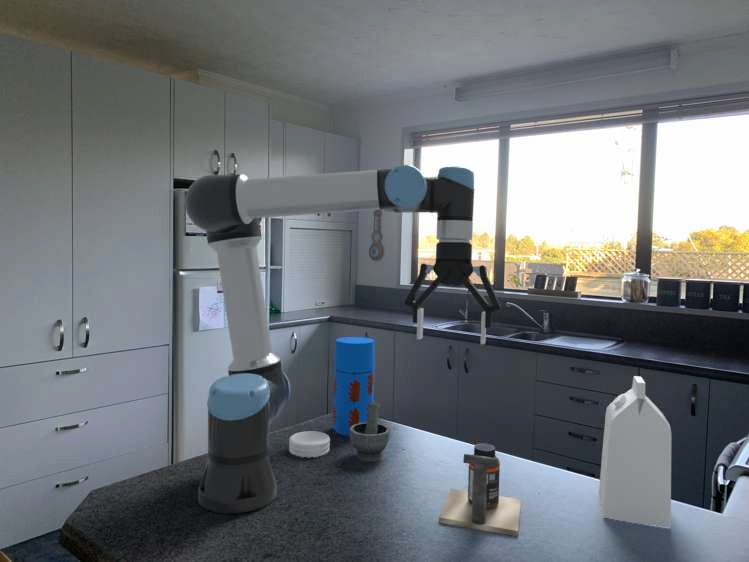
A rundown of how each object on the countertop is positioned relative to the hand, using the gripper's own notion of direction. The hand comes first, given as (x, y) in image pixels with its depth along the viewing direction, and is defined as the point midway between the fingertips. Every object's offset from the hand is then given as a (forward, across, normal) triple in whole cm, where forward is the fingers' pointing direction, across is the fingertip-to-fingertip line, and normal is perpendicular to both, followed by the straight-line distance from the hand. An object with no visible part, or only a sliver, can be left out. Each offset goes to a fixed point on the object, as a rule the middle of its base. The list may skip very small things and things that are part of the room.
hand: (450, 341), depth 117 cm
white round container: (+31, +35, -6) cm, 47 cm away
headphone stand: (+31, -9, +12) cm, 34 cm away
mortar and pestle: (+31, +20, -8) cm, 38 cm away
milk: (+31, -37, 0) cm, 48 cm away
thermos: (+31, +30, -24) cm, 49 cm away
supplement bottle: (+30, -9, +10) cm, 33 cm away
